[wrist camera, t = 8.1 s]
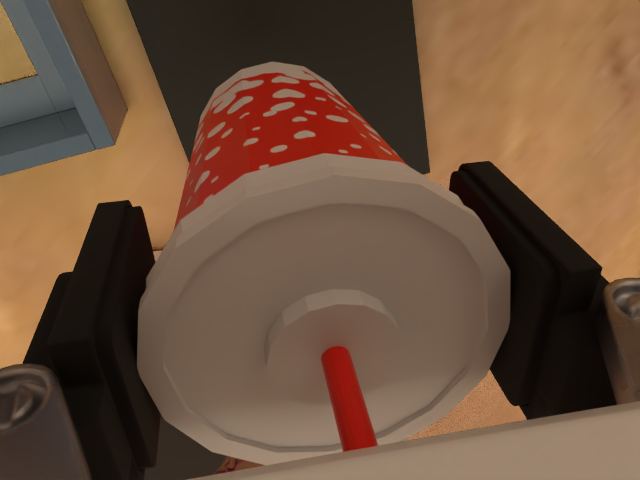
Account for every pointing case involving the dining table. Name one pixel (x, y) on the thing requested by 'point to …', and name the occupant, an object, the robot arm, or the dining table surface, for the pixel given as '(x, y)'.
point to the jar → (181, 453)
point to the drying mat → (291, 57)
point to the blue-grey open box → (57, 88)
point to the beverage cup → (313, 282)
